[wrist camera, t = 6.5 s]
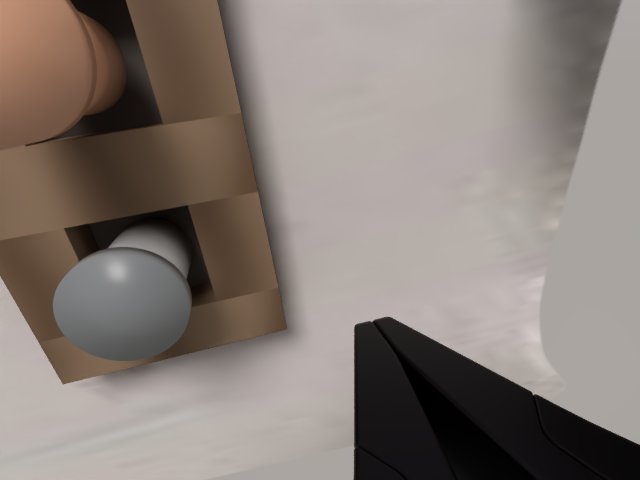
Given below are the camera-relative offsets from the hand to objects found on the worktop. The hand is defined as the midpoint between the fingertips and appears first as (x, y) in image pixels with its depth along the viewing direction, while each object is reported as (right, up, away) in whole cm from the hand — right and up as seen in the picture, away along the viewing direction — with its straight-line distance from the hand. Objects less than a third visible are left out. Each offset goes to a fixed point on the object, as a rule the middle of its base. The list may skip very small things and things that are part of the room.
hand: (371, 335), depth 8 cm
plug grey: (-10, +2, +11) cm, 15 cm away
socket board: (-11, +6, +9) cm, 15 cm away
